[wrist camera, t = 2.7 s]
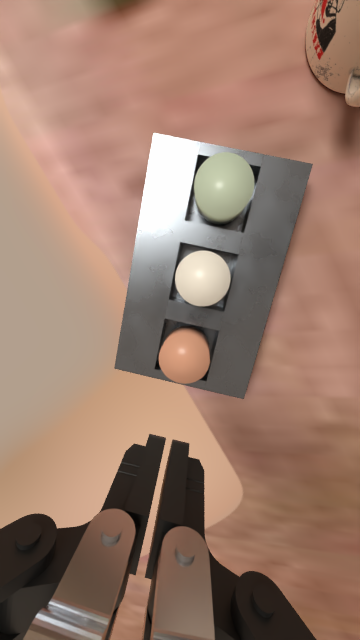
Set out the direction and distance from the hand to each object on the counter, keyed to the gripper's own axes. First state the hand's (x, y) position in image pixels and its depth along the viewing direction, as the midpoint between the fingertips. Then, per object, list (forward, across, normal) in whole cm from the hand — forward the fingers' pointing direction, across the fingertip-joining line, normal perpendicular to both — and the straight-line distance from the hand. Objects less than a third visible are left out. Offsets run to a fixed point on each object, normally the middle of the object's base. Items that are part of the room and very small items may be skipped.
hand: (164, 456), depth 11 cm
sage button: (+15, 0, -14) cm, 21 cm away
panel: (+17, 0, -7) cm, 18 cm away
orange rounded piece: (+15, 0, 0) cm, 15 cm away
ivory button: (+15, 0, -7) cm, 17 cm away
